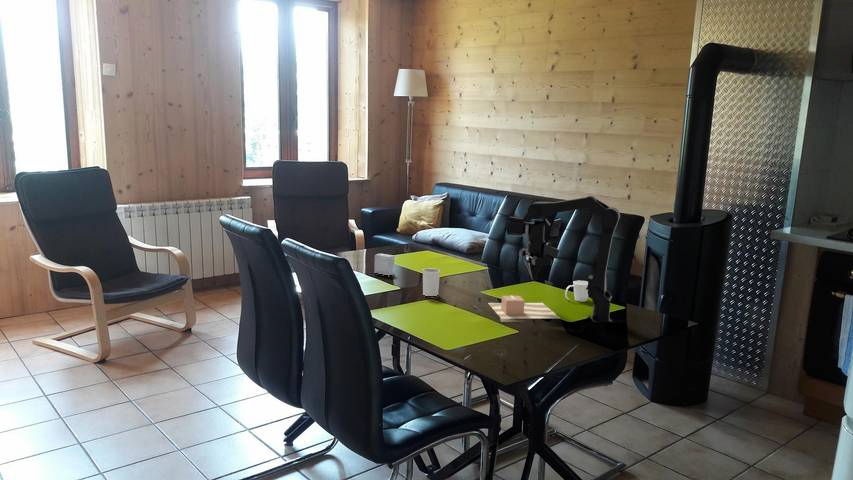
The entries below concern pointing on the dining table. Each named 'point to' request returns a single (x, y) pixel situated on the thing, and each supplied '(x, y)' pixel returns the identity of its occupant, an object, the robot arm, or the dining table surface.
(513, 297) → the pink block
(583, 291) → the cup
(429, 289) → the drinking glass
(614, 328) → the dining table surface
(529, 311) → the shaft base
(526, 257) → the robot arm
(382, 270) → the medicine box
